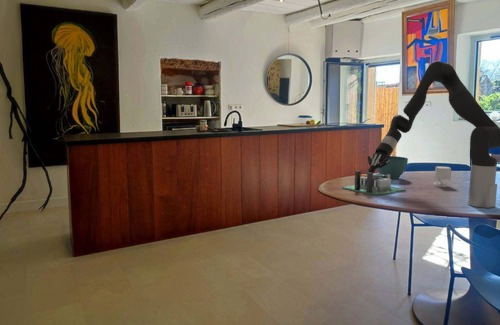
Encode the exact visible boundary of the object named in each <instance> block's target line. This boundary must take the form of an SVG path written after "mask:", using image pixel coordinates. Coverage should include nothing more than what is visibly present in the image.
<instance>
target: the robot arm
mask: <svg viewBox="0 0 500 325" xmlns="http://www.w3.org/2000/svg"><path fill="white" fill-rule="evenodd" d="M434 82H436V83H439V84H441V85H442V86H443V87H444V88H445V89H446V91H447V93H448V102H449V104H450V106H451V108H452V109H453V111H454V113H456V115H458V116H459V117H460V118H461V119H464V121H467V122H468V123H470V124H471V125H473V126H474V127H475V128H474V129H473V130H472V131H471V133H470V138H469V157H470V162H471V163H470V174H469V188H468V200H467V204H468V206H473V207H476V208H485V209H490V208H494V207H496V205H497V204H496V203H497V191H498V183H496V177H497V167H498V166H497V165H498V159H497V158H495V157H493V156H491V155H490V150H492V149H498V148H500V126H498V124H496V122H495V121H493V119H491V117H490V116H489V115H488V114H487V113H486V111H485V110H484V109H483V108H482V107H481V105H480V104H479V102H478V101H477V100H476V98H475V97H474V95H473V94H472V93H471V92H470V90H468V87H466V85H465V84H464V83H463V82H462V80H461V79H460V76H458V74H457V72H456V70H455V68H454V67H453V66H452V65H451V64H449V63H447V62H443V61H439V60H434V61H432V62H431V63H430V64H429V65H428V66H427V68H426V69H425V72H424V74H423V76H422V78H421V79H420V82H419V83H418V86H417V88H416V89H415V91H414V93H413V95H412V96H411V98H410V100H409V101H408V102H407V103H406V105H405V107H404V108H403V110H402V111H403V113H404V114H405V116H407V117H408V118H407V117H404V116H403V115H401V114H395V115H394V116H393V117H392V118H391V121H390V125H389V128H388V129H389V130H388V131H387V133H386V134H385V136H384V137H383V139H382V140H381V141H380V142H379V144H378V146H377V147H376V149H375V152H374V153H373V154H372V155H371V156H370V155H368V156H367V161H368V165H369V168H368V170H367V173H373V174H374V173H375V171H376V170H378V169H377V168H382V167H383V166H385V165H387V164H388V163H390V161H389V159H388V158H389V157H390V156H392V153H393V152H394V150H395V149H396V147H397V145H398V143H399V142H400V140H401V138H402V133H403V134H406V133H409V132H410V131H411V129H412V127H413V123H414V121H415V120H416V117H417V115H418V114H419V113H420V111H421V110H422V109H423V107H424V105H425V104H426V100H427V94H428V90H429V88H430V87H431V86H432V84H433V83H434ZM381 164H382V165H381Z"/></svg>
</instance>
